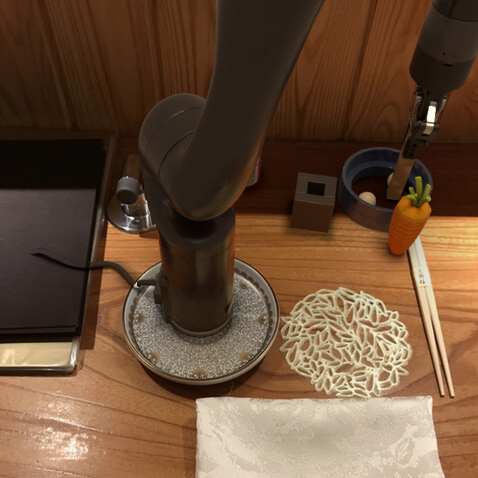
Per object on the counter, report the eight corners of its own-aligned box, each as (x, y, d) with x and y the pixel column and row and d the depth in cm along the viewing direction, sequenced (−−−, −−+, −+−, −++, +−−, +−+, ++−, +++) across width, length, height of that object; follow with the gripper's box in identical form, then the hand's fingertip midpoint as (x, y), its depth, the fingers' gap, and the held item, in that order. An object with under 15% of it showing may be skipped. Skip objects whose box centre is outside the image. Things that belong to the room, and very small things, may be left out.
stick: (386, 198, 92) (412, 127, 80) (387, 190, 93) (412, 118, 81) (399, 200, 91) (426, 129, 80) (399, 191, 93) (426, 120, 81)
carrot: (409, 270, 86) (442, 200, 73) (377, 264, 86) (404, 194, 74) (411, 245, 89) (443, 174, 76) (379, 240, 89) (406, 168, 76)
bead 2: (383, 191, 93) (388, 178, 91) (387, 179, 95) (392, 166, 92) (400, 196, 93) (406, 183, 90) (404, 184, 95) (410, 171, 92)
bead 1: (354, 213, 91) (358, 200, 88) (355, 200, 92) (359, 186, 90) (373, 216, 91) (377, 202, 88) (373, 202, 92) (378, 189, 90)
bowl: (333, 228, 90) (339, 204, 85) (339, 167, 97) (345, 141, 93) (422, 241, 89) (433, 217, 84) (421, 178, 97) (431, 153, 92)
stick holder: (289, 231, 89) (294, 200, 83) (293, 204, 92) (298, 172, 87) (326, 236, 89) (334, 205, 83) (329, 209, 92) (337, 177, 86)
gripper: (418, 8, 74) (384, 119, 88) (419, 70, 66) (382, 180, 81) (476, 15, 73) (432, 125, 88) (483, 79, 66) (434, 187, 81)
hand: (408, 151), depth 84 cm, fingers closed on stick, 2 cm apart
